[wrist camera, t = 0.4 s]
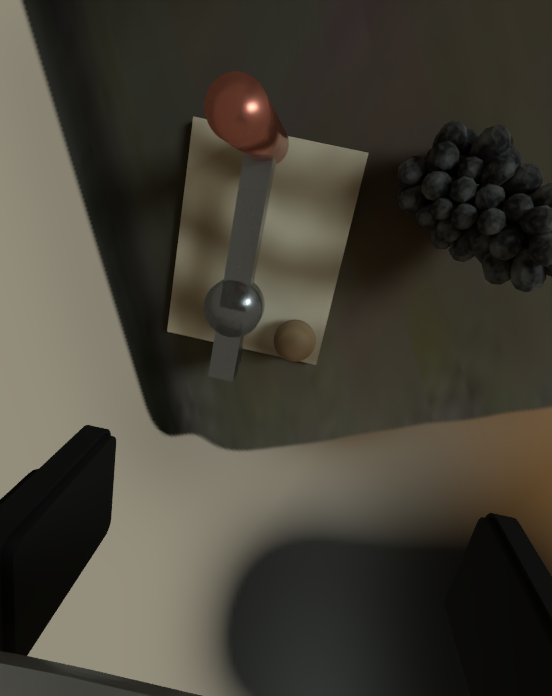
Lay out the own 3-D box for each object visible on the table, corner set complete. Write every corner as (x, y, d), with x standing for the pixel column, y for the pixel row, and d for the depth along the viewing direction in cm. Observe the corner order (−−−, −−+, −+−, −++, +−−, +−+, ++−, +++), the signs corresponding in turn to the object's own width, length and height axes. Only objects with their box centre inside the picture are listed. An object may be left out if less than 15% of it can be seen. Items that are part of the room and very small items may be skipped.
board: (197, 119, 35) (179, 107, 31) (367, 154, 35) (373, 147, 30) (171, 328, 41) (153, 342, 37) (316, 360, 41) (315, 379, 36)
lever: (244, 117, 33) (194, 62, 20) (302, 129, 32) (289, 81, 20) (207, 354, 39) (151, 427, 26) (255, 365, 39) (222, 444, 26)
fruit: (548, 340, 30) (410, 215, 38) (663, 245, 27) (485, 127, 34) (515, 331, 24) (357, 183, 31) (661, 205, 20) (442, 70, 27)
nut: (280, 311, 38) (276, 321, 35) (320, 319, 38) (319, 331, 35) (272, 348, 40) (267, 362, 36) (311, 357, 39) (309, 372, 36)
